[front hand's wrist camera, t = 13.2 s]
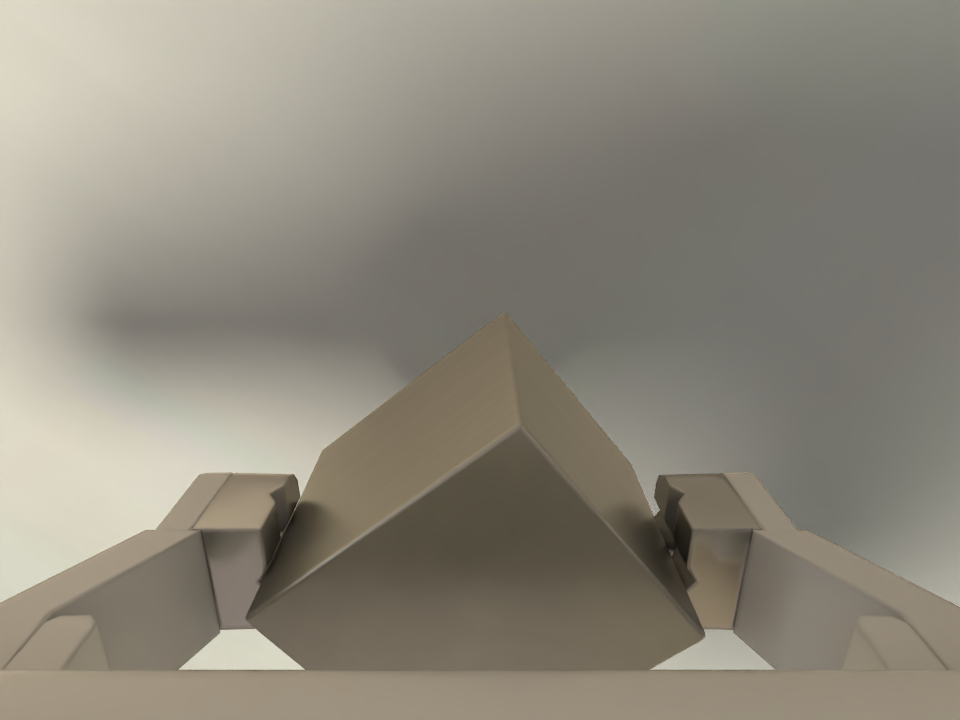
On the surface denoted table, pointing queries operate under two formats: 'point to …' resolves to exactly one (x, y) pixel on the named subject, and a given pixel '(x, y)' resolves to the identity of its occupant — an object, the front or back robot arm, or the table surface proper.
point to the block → (476, 534)
